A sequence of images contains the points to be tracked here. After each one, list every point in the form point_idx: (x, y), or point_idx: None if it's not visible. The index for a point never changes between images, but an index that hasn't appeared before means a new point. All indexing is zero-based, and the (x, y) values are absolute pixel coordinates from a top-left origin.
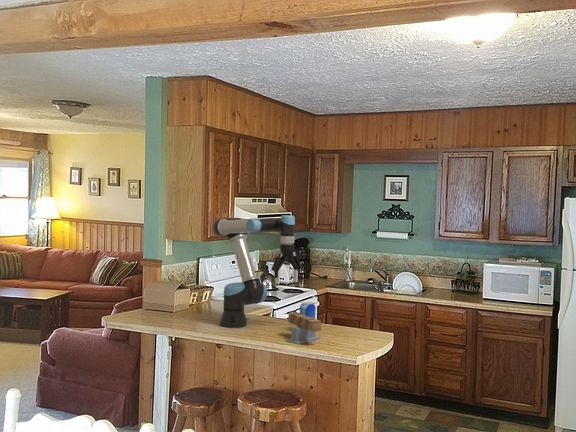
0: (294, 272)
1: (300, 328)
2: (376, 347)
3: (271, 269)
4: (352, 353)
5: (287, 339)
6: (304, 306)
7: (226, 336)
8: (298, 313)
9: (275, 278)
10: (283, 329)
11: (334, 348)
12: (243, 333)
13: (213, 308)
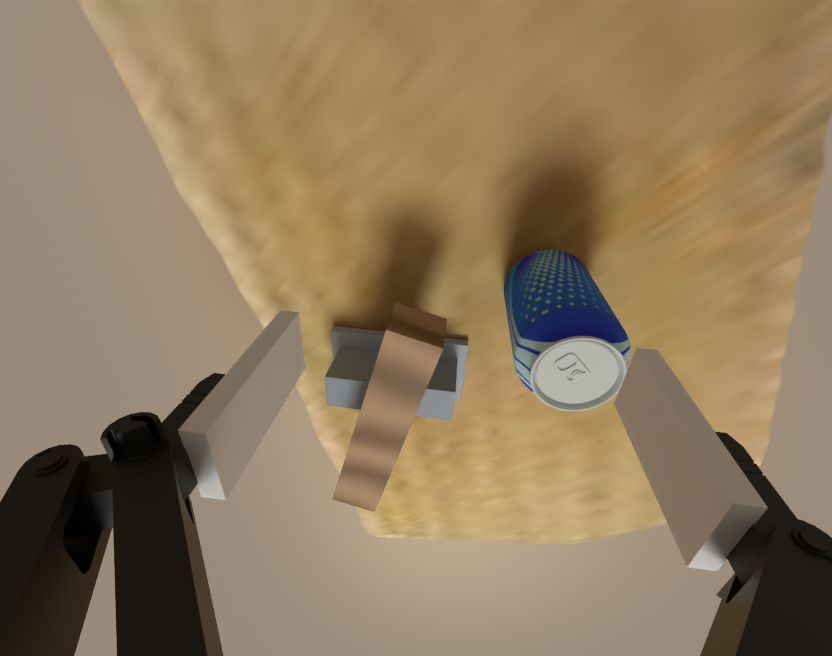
0: (689, 478)
1: (351, 406)
2: (506, 536)
3: (31, 459)
4: (396, 520)
5: (332, 333)
6: (522, 369)
7: (120, 47)
8: (420, 375)
9: (249, 357)
10: (502, 153)
11: (399, 473)
12: (242, 57)
13: None
